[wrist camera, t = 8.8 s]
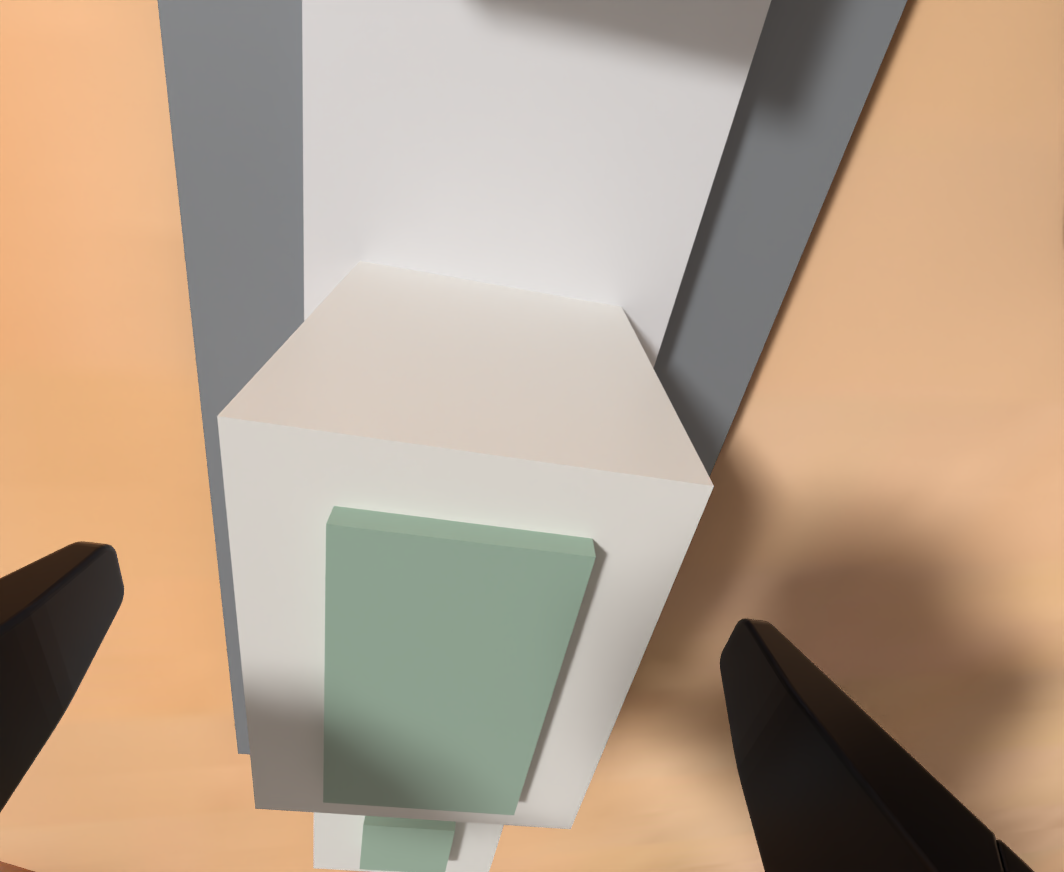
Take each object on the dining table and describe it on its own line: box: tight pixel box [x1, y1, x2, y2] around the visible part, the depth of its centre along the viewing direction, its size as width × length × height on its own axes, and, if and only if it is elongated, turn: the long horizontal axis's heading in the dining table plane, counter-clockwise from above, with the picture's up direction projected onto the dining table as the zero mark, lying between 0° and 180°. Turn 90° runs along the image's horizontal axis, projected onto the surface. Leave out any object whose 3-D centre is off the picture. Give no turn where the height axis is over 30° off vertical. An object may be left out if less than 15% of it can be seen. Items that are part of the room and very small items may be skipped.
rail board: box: [158, 0, 907, 872], centre depth 12 cm, size 12×28×4 cm, turn 169°
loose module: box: [217, 261, 714, 829], centre depth 10 cm, size 5×7×6 cm
